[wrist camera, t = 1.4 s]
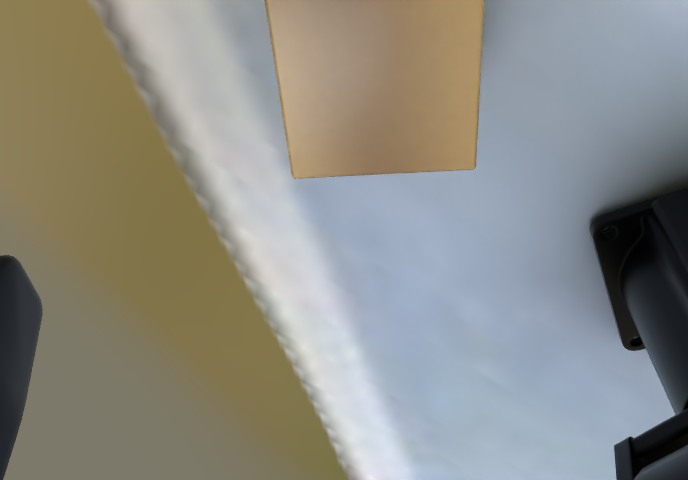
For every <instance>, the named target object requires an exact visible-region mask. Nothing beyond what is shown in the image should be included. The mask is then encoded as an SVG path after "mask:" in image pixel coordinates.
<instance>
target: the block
mask: <svg viewBox="0 0 688 480" xmlns="http://www.w3.org/2000/svg"><path fill="white" fill-rule="evenodd" d="M265 5H266V12H267V18H268V25H269V31H270V38H271V44H272V51H273V57H274V63H275V70H276V76H277V83H278V89H279V96H280V102H281V109H282V115H283V122H284V128H285V134H286V141H287V147H288V154H289V160H290V167H291V173H292V177H293V178H295V179H296V178H315V177H335V176H355V175H374V174H394V173H414V172H433V171H453V170H473V169H475V167H476V155H477V135H478V116H479V96H480V77H481V57H482V38H483V18H484V0H265Z"/></svg>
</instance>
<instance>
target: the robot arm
mask: <svg viewBox="0 0 688 480" xmlns="http://www.w3.org/2000/svg"><path fill="white" fill-rule="evenodd" d="M609 227H612V229H611V230H610V231H608V232H602V231H603V230H604V229H606V228H609ZM590 233H591V237H592V241H593V244H594V248H595V251H596V255H597V258H598V262H599V265H600V269H601V272H602V276H603V279H604V283H605V287H606V290H607V294H608V297H609V301H610V304H611V308H612V311H613V315H614V318H615V322H616V325H617V329H618V333H619V336H620V339H621V341H622V344H623V346H624V347H625V348H626V349H628V350H631V351H636V350H642V349H646V350H647V352H648V354H649V356H650V359H651V361H652V363H653V365H654V367H655V370H656V372H657V374H658V376H659V379H660V381H661V383H662V385H663V387H664V390H665V392H666V394H667V396H668V399H669V401H670V403H671V405H672V407H673V410H674V412H675V414H676V415H675V416H673V417H671V418H670V419H668V420H666V421H664V422H662V423H661V424H659V425H657V426H655V427H653V428H652V429H650V430H648V431H646V432H644V433H643V434H641V435H639V436H637V437H635V438H633V437H629V438H627V439H625V440H623V441H622V442H620V443H618V444H616V445H615V446H614V451H615V464H616V477H617V480H688V188H686V189H683V190H680V191H677V192H674V193H670V194H667V195H664V196H661V197H658V198H654V199H651V200H648V201H645V202H642V203H639V204H635V205H632V206H629V207H626V208H623V209H619V210H616V211H613V212H610V213H607V214H604V215H601V216H599V217H597V218H596V219H594V220H593V221H592V223H591V225H590ZM41 319H42V304H41V300H40V297H39V295H38V293H37V292H36V290H35V289H34V287H33V285H32V283H31V281H30V279H29V278H28V276H27V274H26V272H25V270H24V269H23V267H22V265H21V263H20V262H19V261H18V260H17V259H16V258H15V257H13V256H9V255H4V256H0V480H3V478H4V475H5V472H6V468H7V465H8V462H9V459H10V456H11V452H12V449H13V446H14V443H15V440H16V437H17V433H18V430H19V426H20V423H21V419H22V416H23V411H24V406H25V402H26V398H27V392H28V387H29V382H30V377H31V371H32V366H33V361H34V356H35V351H36V345H37V341H38V335H39V330H40V325H41ZM635 337H636V338H635Z"/></svg>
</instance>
